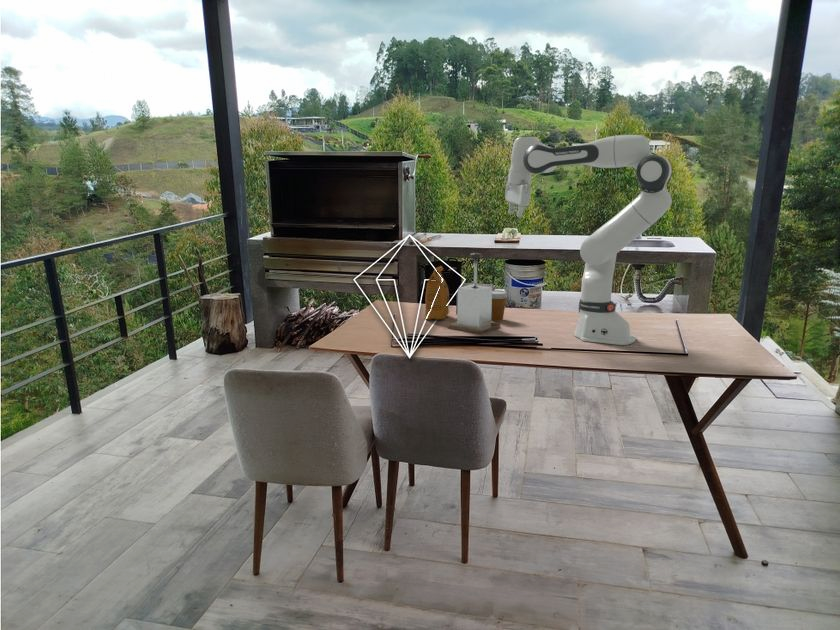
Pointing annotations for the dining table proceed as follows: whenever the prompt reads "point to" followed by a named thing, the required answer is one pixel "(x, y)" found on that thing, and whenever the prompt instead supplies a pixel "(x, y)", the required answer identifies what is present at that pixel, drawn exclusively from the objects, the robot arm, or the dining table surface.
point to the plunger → (475, 266)
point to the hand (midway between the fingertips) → (515, 215)
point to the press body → (474, 310)
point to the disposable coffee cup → (498, 305)
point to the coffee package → (442, 297)
